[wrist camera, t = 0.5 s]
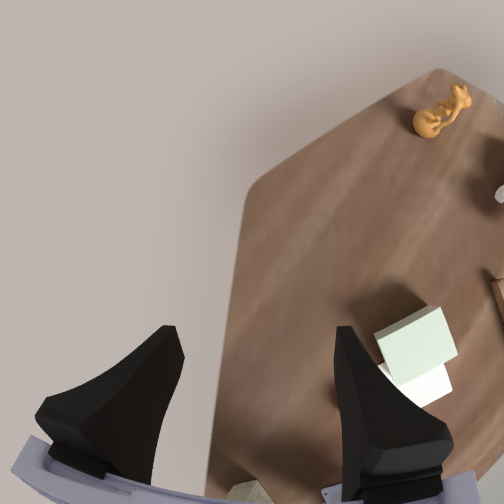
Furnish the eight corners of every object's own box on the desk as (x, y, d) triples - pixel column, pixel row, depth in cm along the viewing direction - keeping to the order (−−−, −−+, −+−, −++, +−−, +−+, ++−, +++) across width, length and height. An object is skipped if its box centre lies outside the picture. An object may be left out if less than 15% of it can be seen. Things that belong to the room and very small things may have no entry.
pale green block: (443, 346, 31) (457, 354, 26) (390, 374, 33) (396, 387, 27) (427, 305, 32) (440, 306, 27) (373, 333, 34) (377, 340, 29)
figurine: (422, 104, 35) (435, 49, 24) (457, 124, 33) (481, 74, 22) (400, 145, 36) (412, 93, 25) (439, 168, 34) (464, 123, 23)
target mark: (452, 390, 30) (452, 390, 29) (396, 418, 31) (396, 419, 31) (433, 336, 32) (434, 336, 31) (376, 366, 33) (376, 366, 33)
